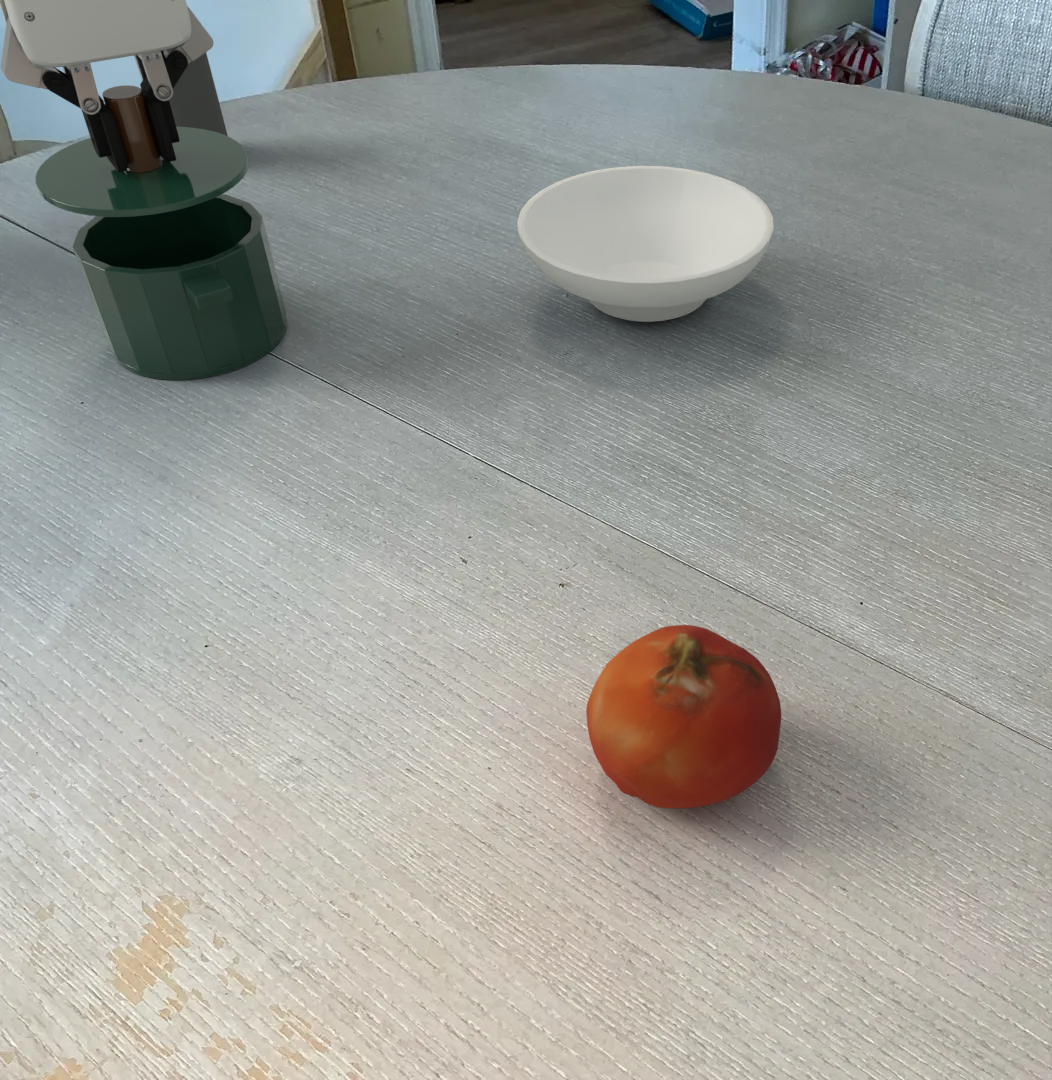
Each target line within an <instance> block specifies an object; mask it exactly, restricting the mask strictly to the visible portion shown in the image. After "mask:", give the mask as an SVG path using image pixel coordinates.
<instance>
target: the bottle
mask: <svg viewBox="0 0 1052 1080" xmlns="http://www.w3.org/2000/svg"><path fill="white" fill-rule="evenodd" d="M209 61H210V60H209V57H208V53H207V52H206V53H204V54H203V55H202V56H200V57H199V58H198V59H196V60H195V61H193V62H190V63H189V64H188V66H187V68H186V69H185V71H184V72H183V74H182V76H181V77H180V79H179V80H178V82H177V83H176V85H175V87H174V88H173V96H172V98H171V99H170V100H169V102H170V106H171V109H172V113H173V117H174V120H175V124H176V127H190V128H198V129H204V130H209V131H214V132H217V133H220V134H223V135H226V136H228V137H229V135H228V132H227V127H226V123H225V119H224V116H223V111H222V107H221V104H220V101H219V96H218V92H217V89H216V85H215V81H214V77H213V73H212V68H211V65H210V62H209Z"/></svg>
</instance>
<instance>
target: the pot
mask: <svg viewBox="0 0 1052 1080" xmlns="http://www.w3.org/2000/svg"><path fill="white" fill-rule="evenodd" d="M75 235H76V236H75V237H74V241H73V242H72V250H73V252H74V256H75V258H76V261H77V263H78V267H79V268H80V271H81V274H82V277H83V279H84V282H85V285H86V288H87V290H88V293H89V296H90V299H91V301H92V304H93V307H94V309H95V312H96V314H97V317H98V321H99V323H100V326H101V328H102V331H103V333H104V336H105V339H106V341H107V344H108V347H109V348H110V350H111V353H112V354H113V357H114V358H115V360H116V361H117V362H118V364H119V365H120V366H122V367H123V368H124V369H126V370H127V371H129V372H131V373H133V374H136V375H139V376H141V377H145V378H149V379H156V380H164V381H187V380H189V381H190V380H197V379H198V380H199V379H205V378H209V377H215V376H220V375H223V374H227V373H230V372H234V371H236V370H239V369H242V368H244V367H246V366H248V365H251V364H253V363H254V362H255V363H256V361H259V360H261V359H262V358H264V357H265V356H266V355H268V354H269V353H270V352H271V351H273V350H274V349H275V348H276V347H277V346H278V345H279V344H280V343H281V341H282V339H283V338H284V336H285V335H286V332H287V329H288V328H287V327H288V321H287V310H286V306H285V302H284V298H283V294H282V290H281V287H280V283H279V278H278V274H277V269H276V266H275V262H274V259H273V254H272V251H271V246H270V241H269V238H268V234H267V229H266V226H265V222H264V218H263V215H262V214H261V213H260V212H259V211H258V210H257V209H256V208H255V206H254V205H252V203H250V202H248V201H245V200H243V199H240V198H237V197H234V196H232V195H229V194H225V193H223V194H221V195H219V196H217V197H215V198H213V199H211V200H208V201H206V202H203V203H200V204H197V205H194V206H191V207H188V208H184V209H180V210H176V211H171V212H166V213H160V214H153V215H145V216H134V217H101V216H93V217H92V218H91V219H90V220H89V221H87V223H85V224H84V225H83V226H81V227H80V228H79V229H78V230H77V232H76V234H75Z"/></svg>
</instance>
